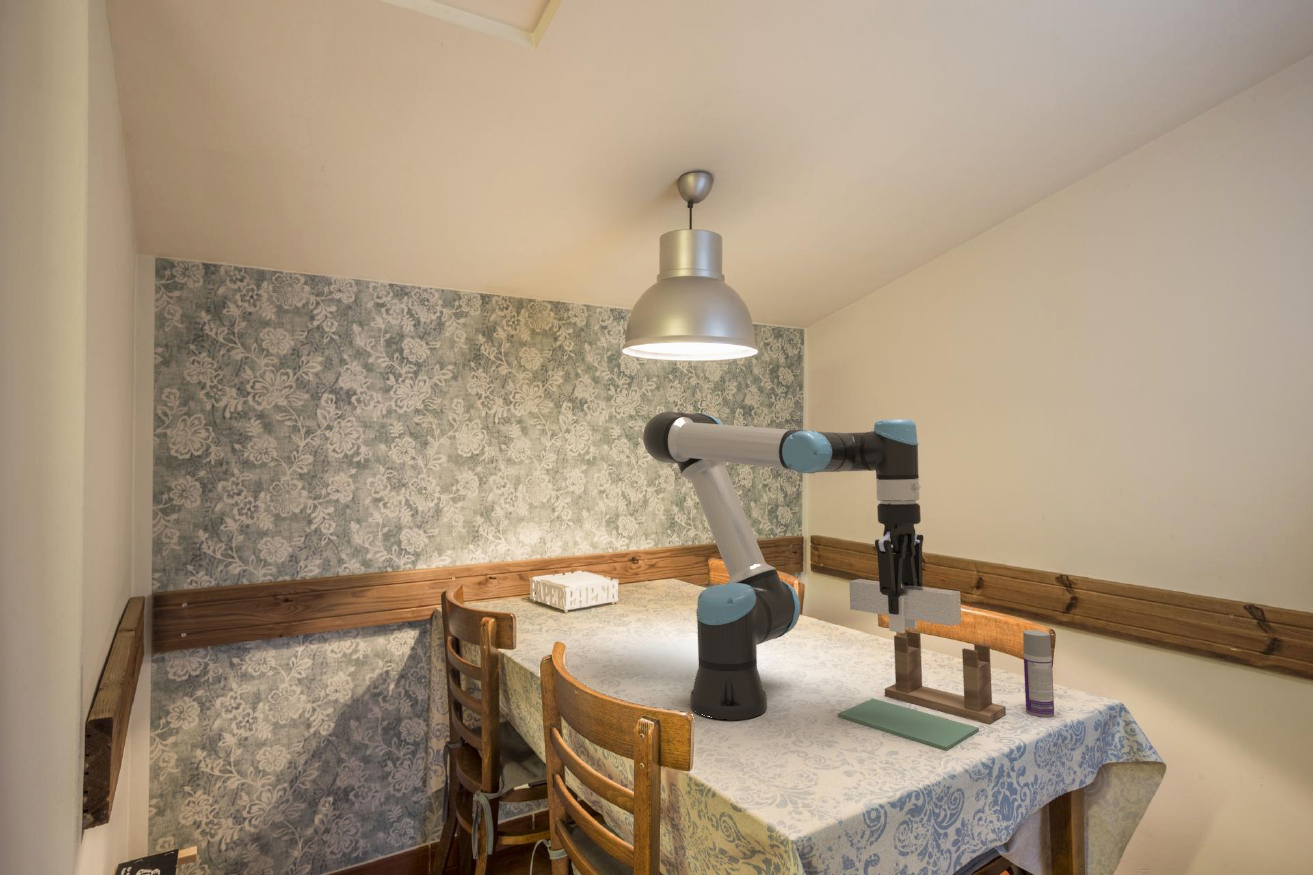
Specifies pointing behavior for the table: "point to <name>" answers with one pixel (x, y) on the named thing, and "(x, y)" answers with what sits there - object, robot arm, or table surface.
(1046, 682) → the container
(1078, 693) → the table surface
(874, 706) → the mat
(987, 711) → the rack
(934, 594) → the rail
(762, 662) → the table surface
